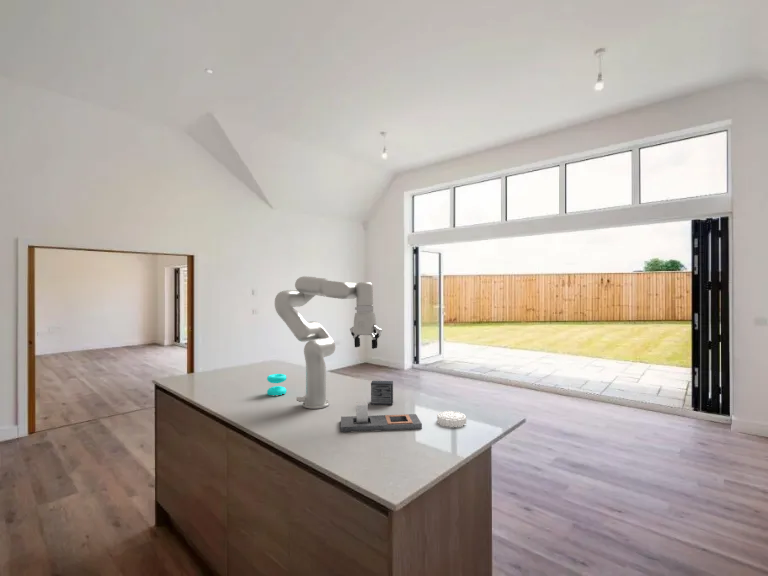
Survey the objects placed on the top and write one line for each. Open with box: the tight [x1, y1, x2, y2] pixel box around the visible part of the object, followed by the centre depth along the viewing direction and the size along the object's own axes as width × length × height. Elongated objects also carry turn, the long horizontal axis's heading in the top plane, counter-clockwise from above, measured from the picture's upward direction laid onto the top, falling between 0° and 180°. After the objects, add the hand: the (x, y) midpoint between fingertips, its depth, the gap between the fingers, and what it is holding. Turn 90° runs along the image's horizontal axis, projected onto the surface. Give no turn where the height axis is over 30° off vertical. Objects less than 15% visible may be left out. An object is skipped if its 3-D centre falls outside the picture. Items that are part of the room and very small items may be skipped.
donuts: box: [266, 373, 287, 397], centre depth 201 cm, size 10×10×10 cm
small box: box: [370, 380, 394, 406], centre depth 185 cm, size 11×6×10 cm, turn 84°
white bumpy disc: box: [436, 410, 467, 428], centre depth 158 cm, size 12×12×4 cm
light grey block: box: [355, 401, 369, 424], centre depth 154 cm, size 4×4×9 cm
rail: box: [340, 413, 423, 433], centre depth 155 cm, size 32×12×2 cm, turn 96°
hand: (365, 347), depth 170 cm, fingers open, 9 cm apart
